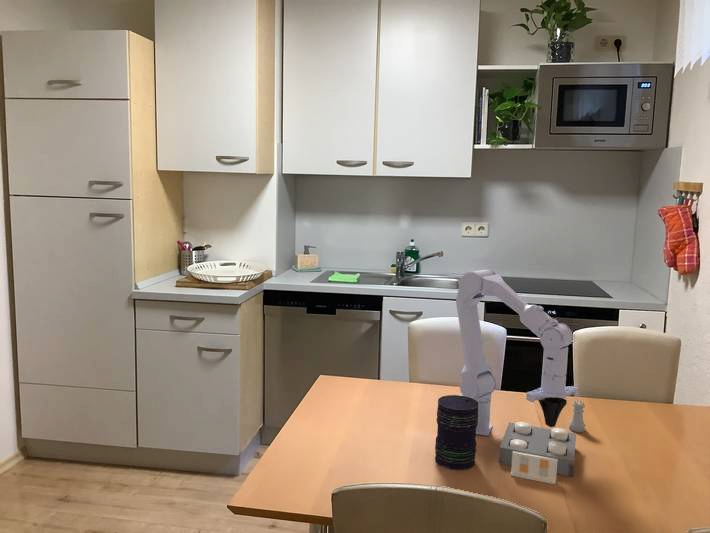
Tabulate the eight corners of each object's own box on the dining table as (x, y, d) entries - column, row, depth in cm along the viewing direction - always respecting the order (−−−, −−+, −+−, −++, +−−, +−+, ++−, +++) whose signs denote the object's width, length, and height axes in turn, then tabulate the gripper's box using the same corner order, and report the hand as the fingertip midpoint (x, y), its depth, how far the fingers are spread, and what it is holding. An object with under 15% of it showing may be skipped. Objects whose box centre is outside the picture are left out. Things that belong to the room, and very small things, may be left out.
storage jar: (450, 473, 142) (453, 412, 140) (426, 456, 151) (429, 398, 149) (484, 465, 147) (487, 406, 145) (459, 449, 156) (462, 392, 154)
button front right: (547, 459, 146) (548, 446, 146) (548, 452, 150) (549, 440, 150) (564, 462, 145) (565, 449, 144) (565, 455, 149) (566, 443, 148)
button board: (498, 462, 149) (499, 447, 148) (508, 436, 164) (509, 422, 164) (572, 476, 143) (574, 460, 142) (575, 448, 158) (576, 433, 158)
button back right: (549, 444, 155) (550, 432, 154) (551, 438, 158) (551, 426, 158) (566, 447, 153) (567, 435, 153) (567, 441, 157) (568, 429, 156)
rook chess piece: (586, 433, 168) (588, 405, 167) (569, 431, 169) (571, 404, 168) (583, 427, 172) (586, 400, 171) (567, 425, 173) (569, 398, 172)
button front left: (508, 456, 150) (509, 444, 149) (510, 450, 153) (511, 438, 153) (525, 459, 148) (526, 447, 148) (527, 453, 152) (527, 441, 151)
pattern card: (510, 475, 142) (511, 454, 142) (512, 470, 145) (513, 449, 144) (555, 484, 139) (557, 462, 138) (556, 478, 142) (557, 457, 141)
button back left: (513, 438, 158) (514, 426, 157) (515, 432, 162) (516, 420, 161) (529, 441, 156) (530, 429, 156) (531, 435, 160) (531, 423, 160)
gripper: (541, 381, 145) (537, 435, 147) (588, 375, 151) (584, 427, 153) (522, 372, 152) (518, 424, 154) (568, 366, 157) (564, 417, 159)
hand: (550, 425), depth 154 cm, fingers closed
